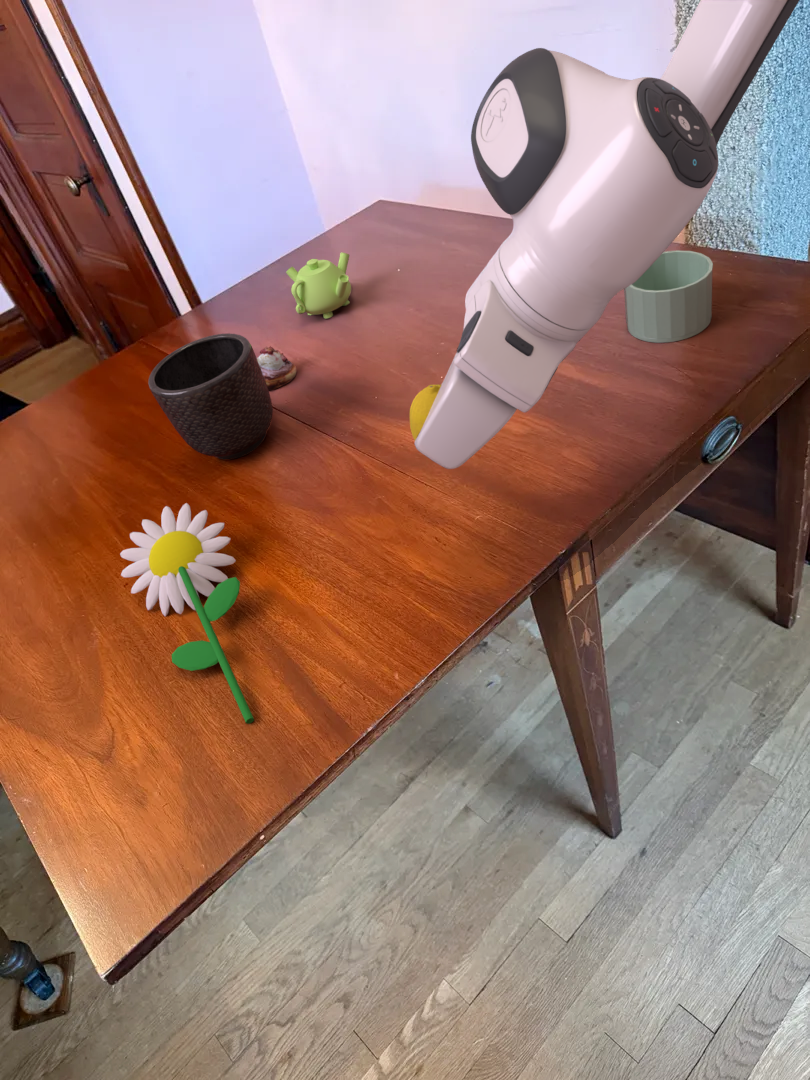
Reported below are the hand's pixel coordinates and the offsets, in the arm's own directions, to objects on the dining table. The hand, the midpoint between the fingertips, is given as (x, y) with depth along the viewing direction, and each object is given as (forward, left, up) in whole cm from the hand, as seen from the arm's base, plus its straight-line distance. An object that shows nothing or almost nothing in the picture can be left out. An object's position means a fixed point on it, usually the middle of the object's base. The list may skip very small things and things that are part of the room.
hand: (434, 420), depth 66 cm
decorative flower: (+12, +26, -16) cm, 33 cm away
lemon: (-1, 0, -5) cm, 5 cm away
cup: (+13, -43, -16) cm, 48 cm away
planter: (+41, +9, -16) cm, 46 cm away
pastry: (+53, -2, -16) cm, 55 cm away
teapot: (+65, -20, -16) cm, 70 cm away
